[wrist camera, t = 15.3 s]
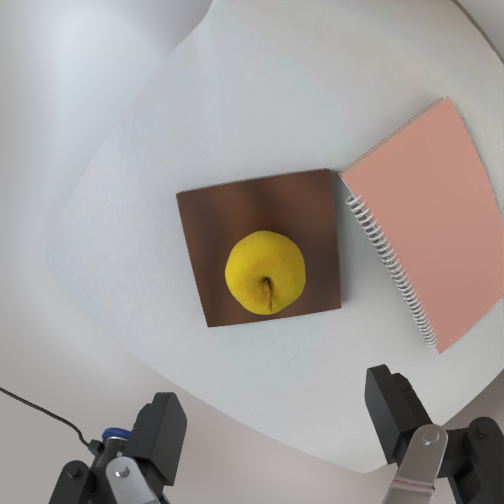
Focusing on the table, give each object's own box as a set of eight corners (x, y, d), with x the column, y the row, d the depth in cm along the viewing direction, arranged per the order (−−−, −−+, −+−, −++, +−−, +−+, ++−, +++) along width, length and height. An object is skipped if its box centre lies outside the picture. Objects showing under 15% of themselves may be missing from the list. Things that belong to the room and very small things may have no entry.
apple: (266, 299, 28) (269, 347, 21) (216, 258, 27) (200, 296, 19) (313, 252, 27) (333, 289, 19) (261, 207, 26) (264, 227, 18)
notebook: (328, 180, 26) (333, 182, 24) (440, 98, 23) (450, 95, 21) (428, 351, 32) (434, 360, 30) (508, 277, 29) (516, 282, 27)
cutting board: (209, 320, 31) (207, 327, 29) (179, 192, 27) (175, 193, 25) (338, 301, 30) (341, 308, 29) (326, 168, 26) (330, 168, 24)
